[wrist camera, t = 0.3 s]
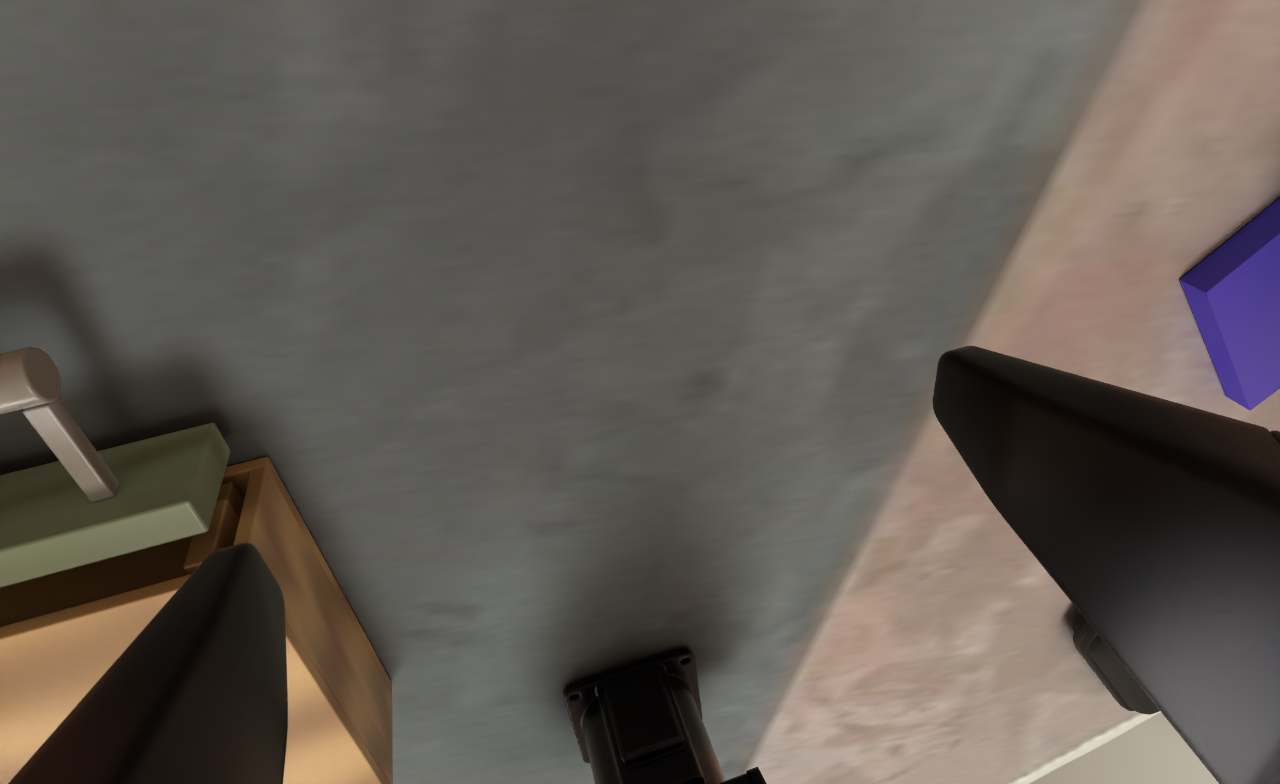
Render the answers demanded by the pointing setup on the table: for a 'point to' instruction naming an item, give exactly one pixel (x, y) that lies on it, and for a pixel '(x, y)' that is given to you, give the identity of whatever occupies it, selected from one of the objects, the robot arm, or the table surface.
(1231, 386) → the stapler
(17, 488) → the drawer
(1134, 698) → the carrying case
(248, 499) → the cabinet
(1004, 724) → the table surface
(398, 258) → the table surface
